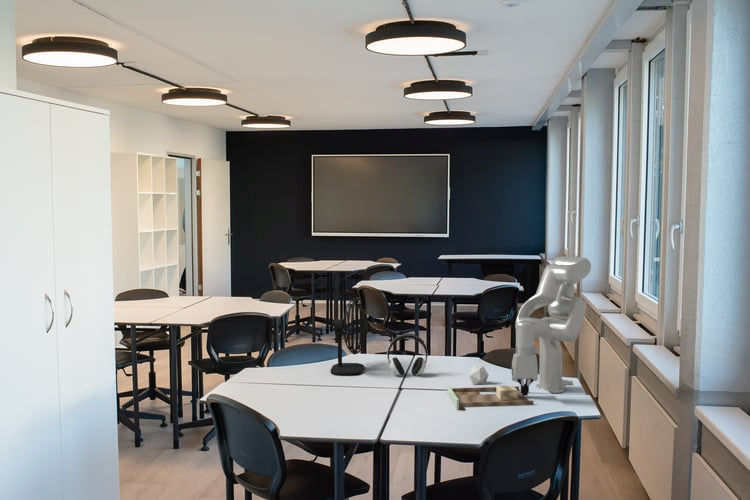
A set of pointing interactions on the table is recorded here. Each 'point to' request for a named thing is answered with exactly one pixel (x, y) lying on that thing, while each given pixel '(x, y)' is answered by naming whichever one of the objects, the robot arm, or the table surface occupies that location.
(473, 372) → the die
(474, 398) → the box
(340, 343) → the desk fan
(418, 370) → the headphones
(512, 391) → the block
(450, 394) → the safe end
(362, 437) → the table surface
